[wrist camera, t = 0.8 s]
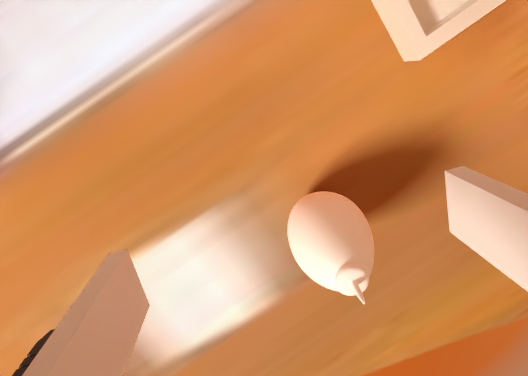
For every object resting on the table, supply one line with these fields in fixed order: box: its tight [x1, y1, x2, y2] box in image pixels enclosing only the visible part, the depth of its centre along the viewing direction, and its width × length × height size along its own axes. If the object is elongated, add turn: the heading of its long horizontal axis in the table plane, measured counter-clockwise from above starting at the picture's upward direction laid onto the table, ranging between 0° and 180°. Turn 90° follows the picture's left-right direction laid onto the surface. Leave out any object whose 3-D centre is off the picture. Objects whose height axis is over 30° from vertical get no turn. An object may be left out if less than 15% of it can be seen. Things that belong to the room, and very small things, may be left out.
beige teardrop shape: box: [288, 191, 374, 304], centre depth 34 cm, size 8×8×18 cm
